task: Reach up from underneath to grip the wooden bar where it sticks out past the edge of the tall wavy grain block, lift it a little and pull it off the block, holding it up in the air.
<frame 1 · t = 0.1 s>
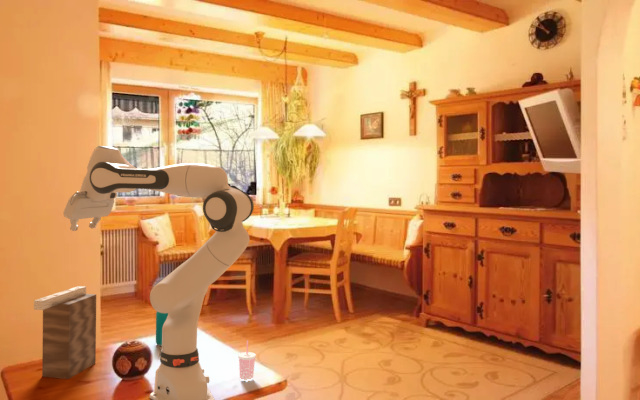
hand: (82, 229, 181), 52 cm above the table, tool tilted 20°, fingers open, 8 cm apart
wavy grain block: (69, 369, 191), on the table
wooden bar: (61, 301, 185), point 26 cm above the table, touching wavy grain block
beverage cup: (246, 380, 187), on the table
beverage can: (162, 345, 222), on the table
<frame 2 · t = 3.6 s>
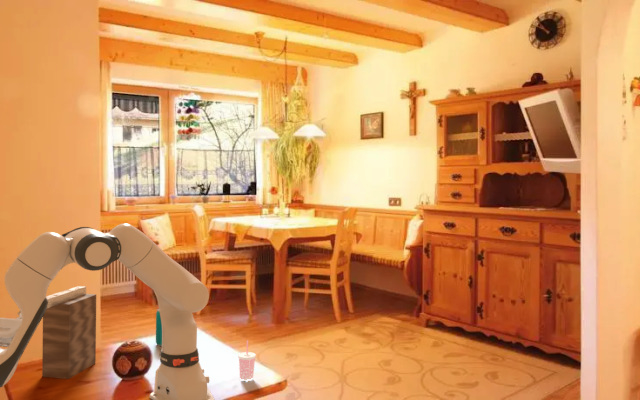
hand: (10, 310, 161), 29 cm above the table, tool pointing upward, fingers open, 8 cm apart
nothing on the table moved.
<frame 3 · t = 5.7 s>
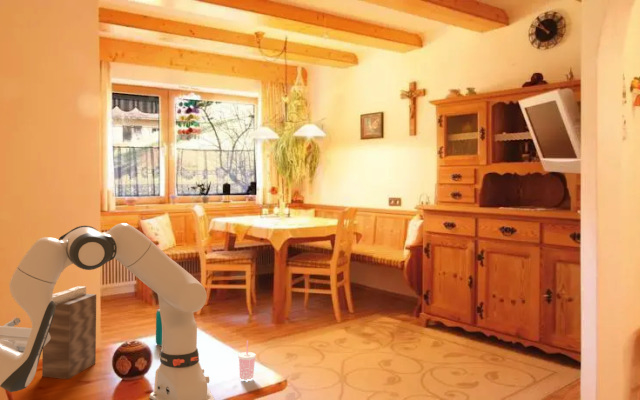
hand: (31, 320, 170), 24 cm above the table, tool pointing upward, fingers open, 8 cm apart
nothing on the table moved.
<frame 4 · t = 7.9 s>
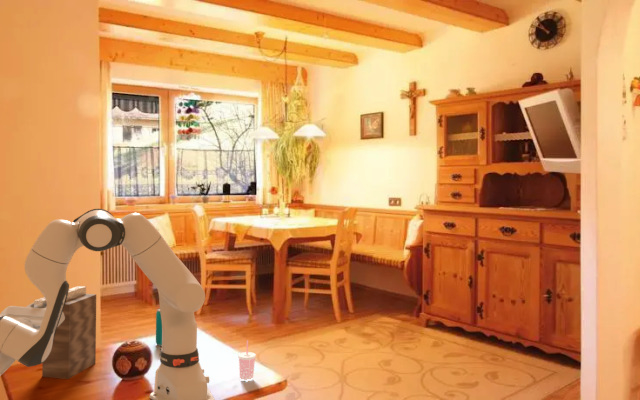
hand: (45, 301, 177), 28 cm above the table, tool pointing upward, fingers closed on wooden bar, 3 cm apart
wooden bar: (61, 301, 185), point 26 cm above the table, touching gripper, wavy grain block
everything else where it was.
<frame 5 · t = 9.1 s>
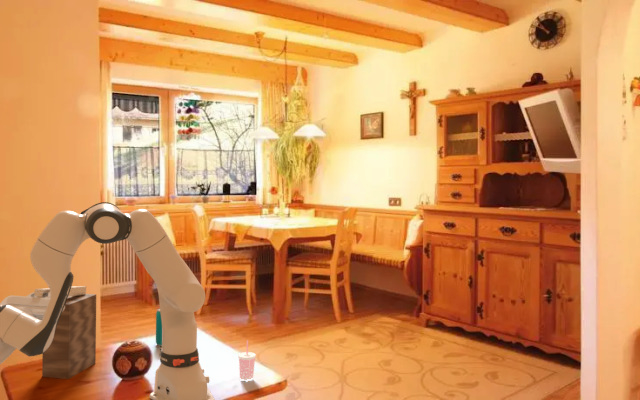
hand: (46, 291, 177), 31 cm above the table, tool pointing upward, fingers closed on wooden bar, 3 cm apart
wooden bar: (61, 296, 185), point 28 cm above the table, tilted 9°, touching gripper, wavy grain block
everything else where it was.
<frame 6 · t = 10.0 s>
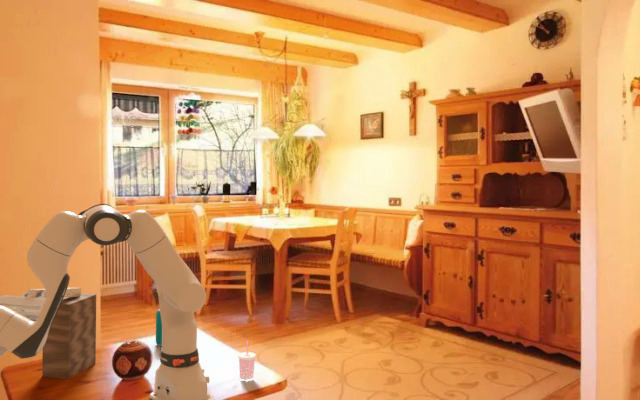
hand: (39, 290, 174), 32 cm above the table, tool pointing upward, fingers closed on wooden bar, 3 cm apart
wooden bar: (55, 297, 182), point 28 cm above the table, tilted 10°, touching gripper
everything else where it was.
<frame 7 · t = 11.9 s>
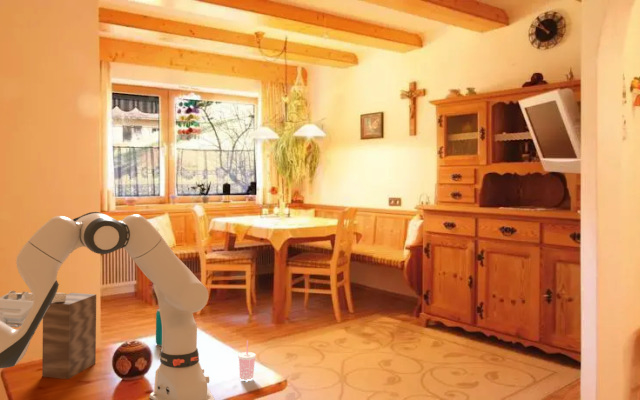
hand: (20, 292, 165), 33 cm above the table, tool pointing upward, fingers closed on wooden bar, 3 cm apart
wooden bar: (38, 302, 173), point 28 cm above the table, tilted 12°, touching gripper
everything else where it was.
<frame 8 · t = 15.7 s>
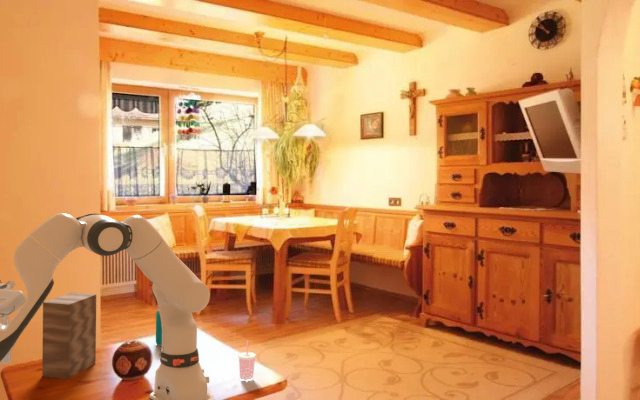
hand: (5, 282, 159), 38 cm above the table, tool pointing upward, fingers closed on wooden bar, 3 cm apart
at the end: wooden bar touching gripper; wooden bar point 25.5 cm above the table; wooden bar moved 29.5 cm from its start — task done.
